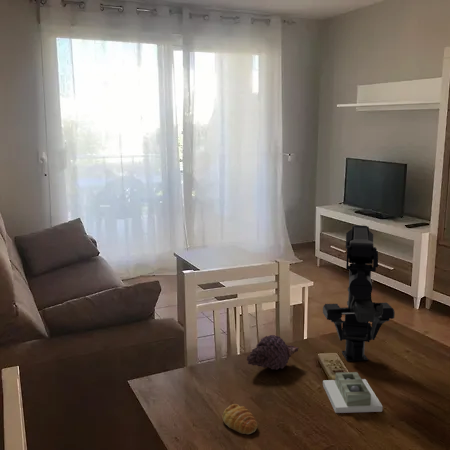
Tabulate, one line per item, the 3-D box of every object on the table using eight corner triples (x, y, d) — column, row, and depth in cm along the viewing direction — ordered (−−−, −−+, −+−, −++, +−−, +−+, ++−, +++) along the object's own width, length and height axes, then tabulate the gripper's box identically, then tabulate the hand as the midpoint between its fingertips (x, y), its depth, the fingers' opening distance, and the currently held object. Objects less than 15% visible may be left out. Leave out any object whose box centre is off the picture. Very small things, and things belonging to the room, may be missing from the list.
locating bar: (370, 405, 132) (371, 394, 131) (347, 406, 132) (347, 395, 131) (356, 382, 144) (357, 372, 143) (335, 382, 143) (335, 372, 143)
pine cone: (255, 382, 147) (255, 349, 145) (237, 368, 155) (237, 337, 153) (305, 367, 155) (305, 336, 153) (285, 355, 164) (286, 325, 162)
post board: (322, 385, 145) (323, 368, 144) (365, 384, 146) (366, 367, 145) (335, 412, 131) (336, 394, 130) (382, 411, 132) (383, 393, 131)
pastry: (264, 429, 125) (264, 415, 124) (243, 440, 121) (243, 425, 120) (239, 412, 132) (239, 399, 131) (218, 422, 128) (218, 408, 127)
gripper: (333, 297, 135) (331, 353, 138) (404, 296, 135) (400, 351, 139) (323, 284, 145) (321, 336, 149) (388, 282, 146) (385, 334, 149)
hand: (356, 339), depth 146 cm, fingers open, 9 cm apart
